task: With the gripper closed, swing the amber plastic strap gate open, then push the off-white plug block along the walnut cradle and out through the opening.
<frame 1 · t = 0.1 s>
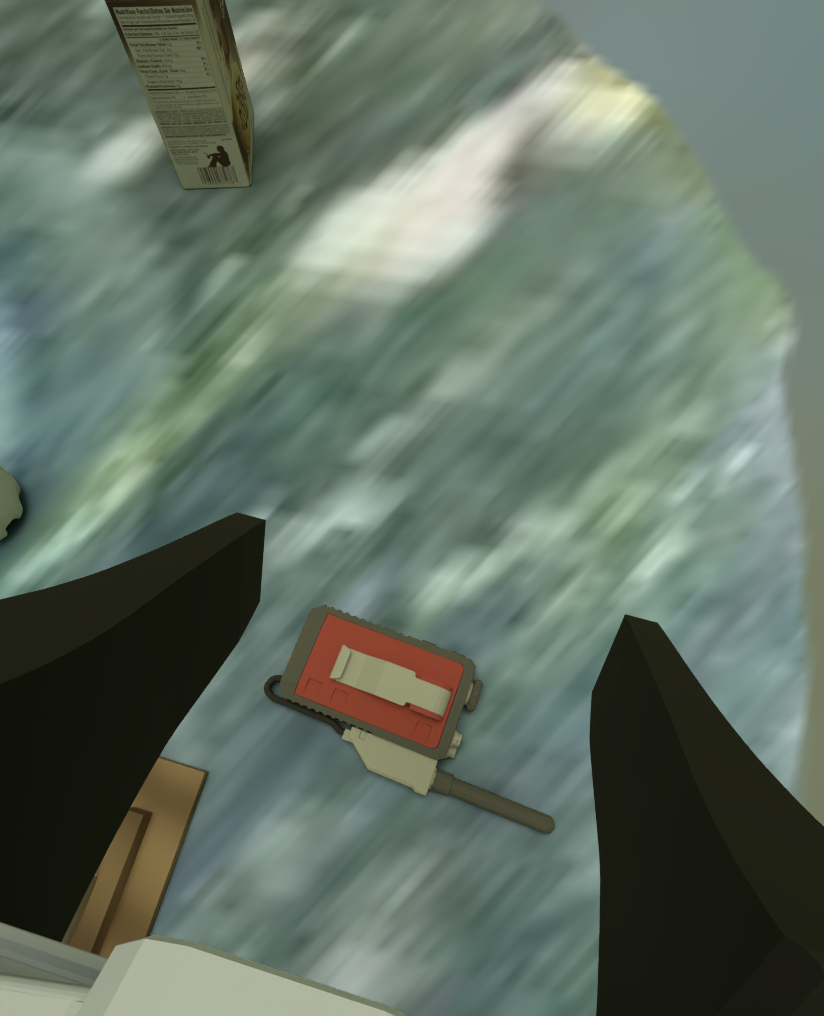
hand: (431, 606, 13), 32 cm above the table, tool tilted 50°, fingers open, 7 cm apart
cradle: (12, 1013, 37), on the table
coffee box: (219, 153, 60), on the table
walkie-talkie: (418, 714, 43), on the table
plug: (44, 919, 38), point 1 cm above the table, touching cradle
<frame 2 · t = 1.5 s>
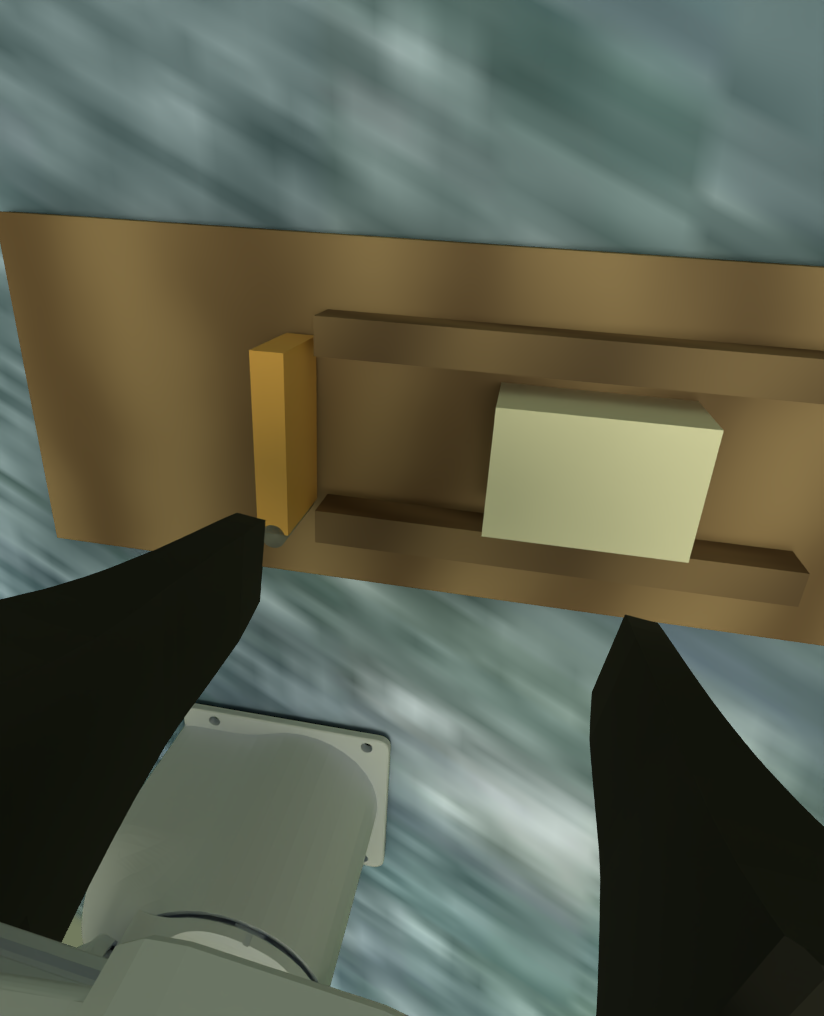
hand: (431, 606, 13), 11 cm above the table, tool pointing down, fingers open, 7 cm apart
cradle: (438, 428, 23), on the table
strap gate: (287, 440, 21), point 3 cm above the table, hinge at 0.0°
plug: (587, 452, 21), point 1 cm above the table, touching cradle
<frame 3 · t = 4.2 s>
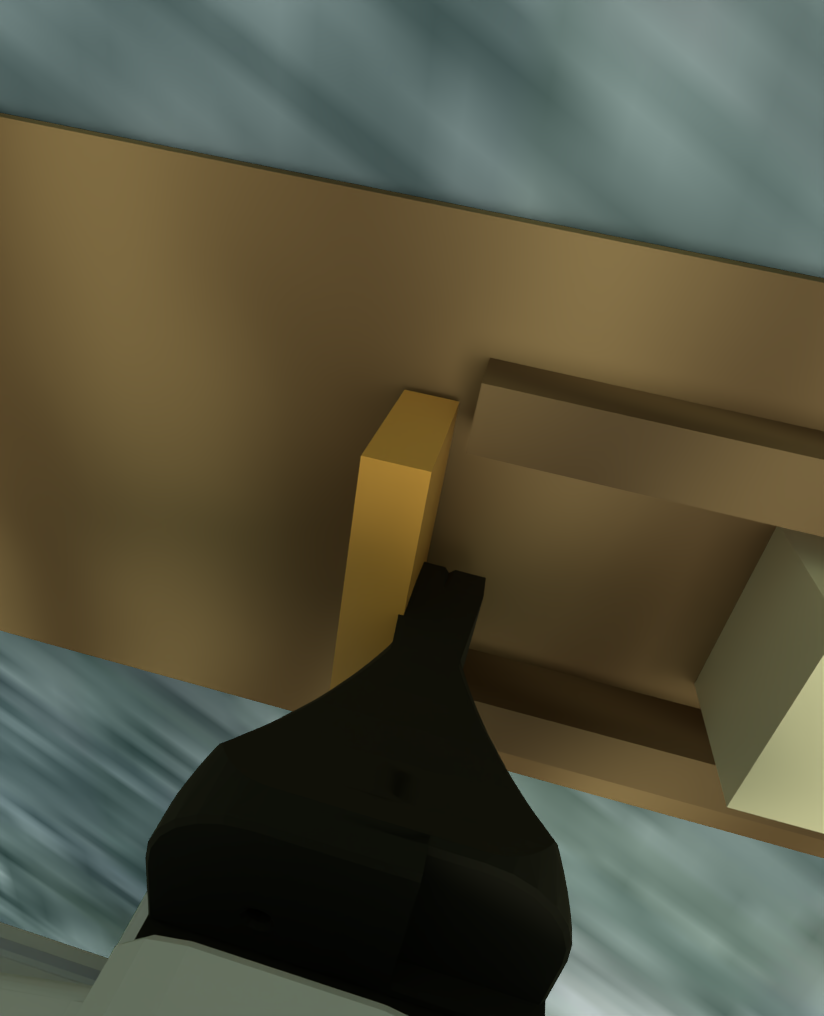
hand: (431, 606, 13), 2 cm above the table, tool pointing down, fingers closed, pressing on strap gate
cradle: (626, 563, 14), on the table
strap gate: (388, 583, 12), point 3 cm above the table, hinge at 0.4°, touching gripper
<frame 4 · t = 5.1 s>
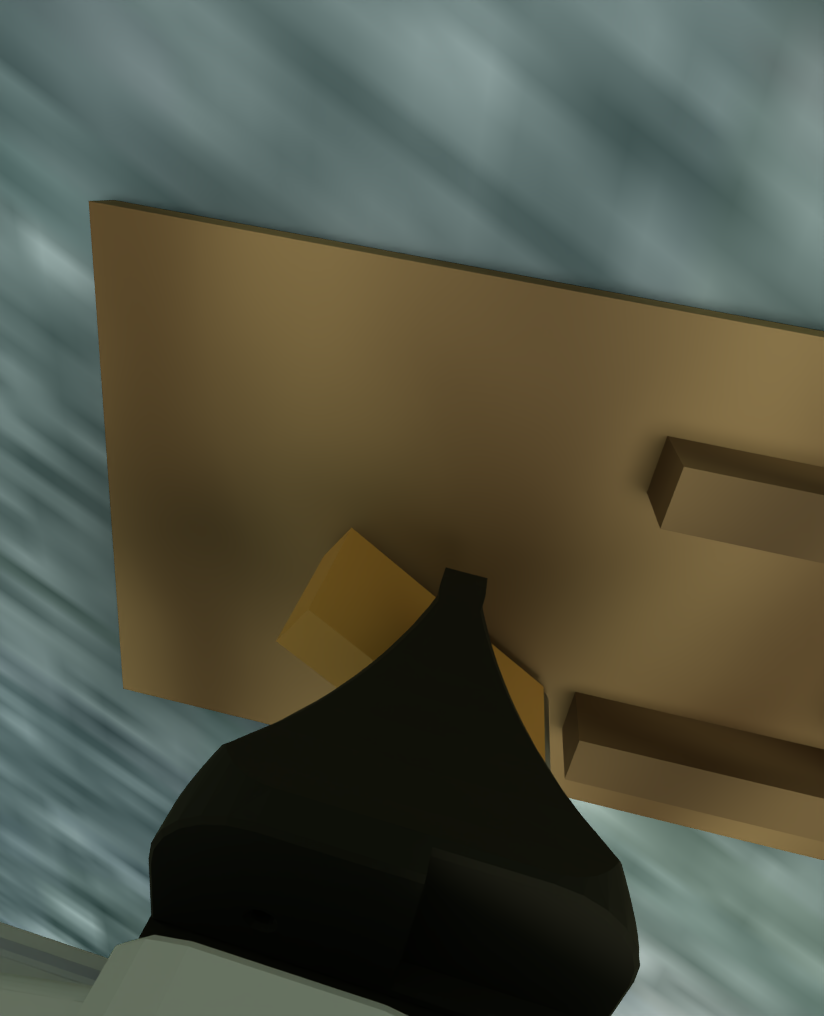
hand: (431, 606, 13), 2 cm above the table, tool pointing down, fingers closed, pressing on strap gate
cradle: (772, 617, 14), on the table
strap gate: (435, 674, 13), point 3 cm above the table, hinge at 58.7°, touching gripper
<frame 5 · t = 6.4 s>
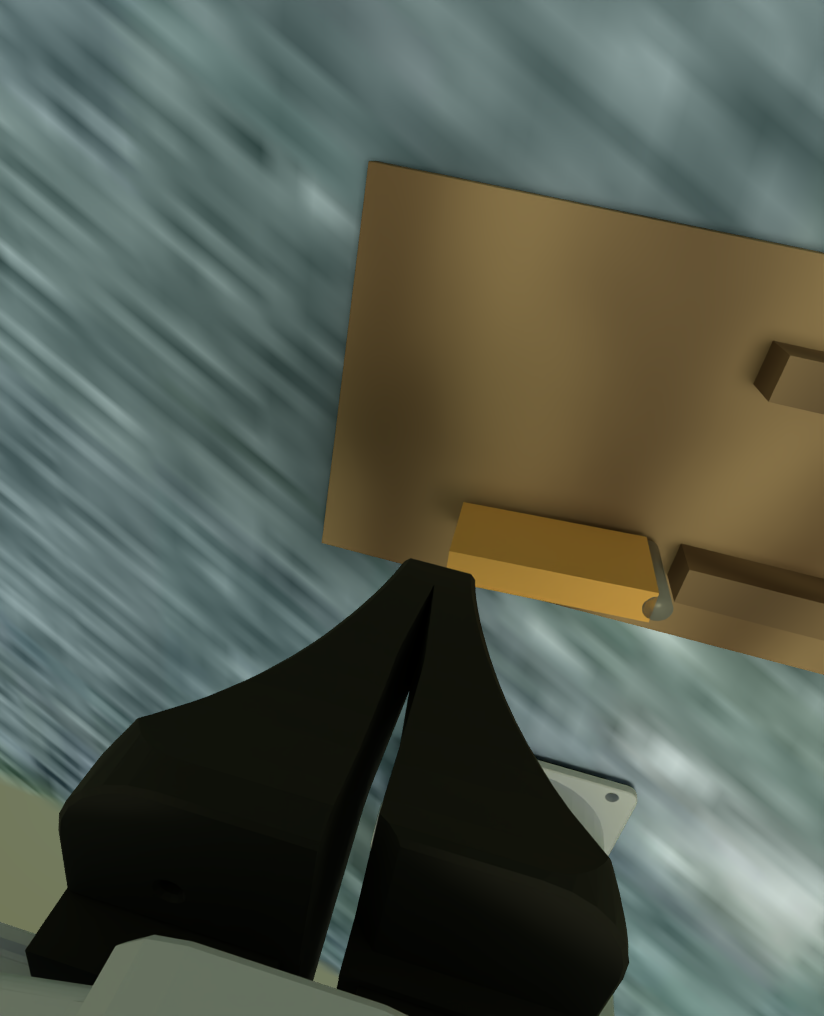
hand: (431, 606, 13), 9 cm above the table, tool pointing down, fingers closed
strap gate: (557, 559, 19), point 3 cm above the table, hinge at 93.8°
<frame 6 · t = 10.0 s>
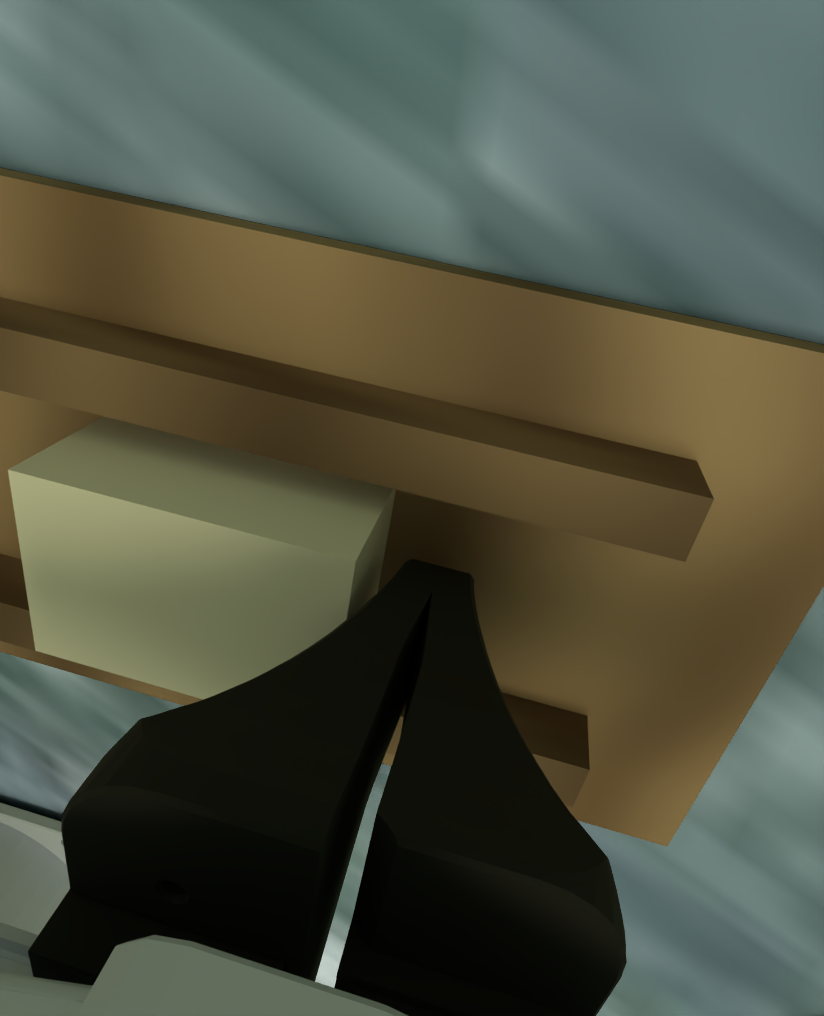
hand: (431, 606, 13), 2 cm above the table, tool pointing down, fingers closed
cradle: (107, 470, 15), on the table
plug: (249, 528, 14), point 1 cm above the table, touching cradle, gripper
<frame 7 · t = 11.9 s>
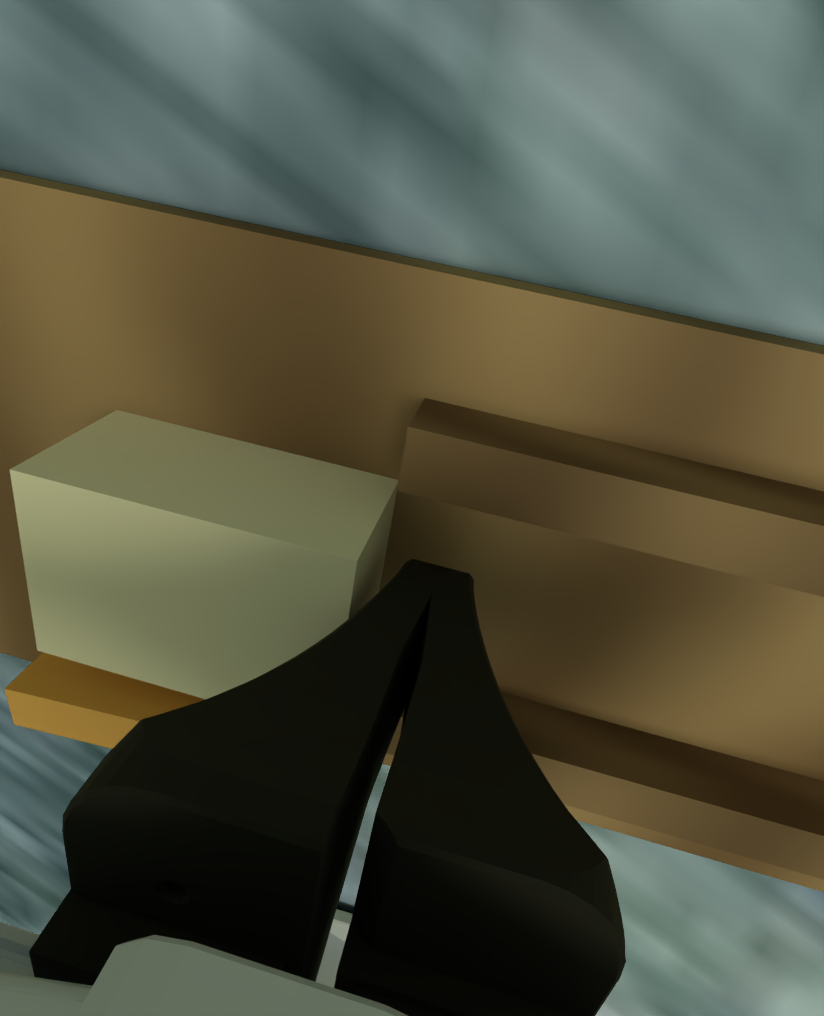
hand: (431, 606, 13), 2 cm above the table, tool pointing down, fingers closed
cradle: (565, 589, 14), on the table
strap gate: (188, 688, 14), point 3 cm above the table, hinge at 94.2°
plug: (250, 527, 14), point 1 cm above the table, touching cradle, gripper
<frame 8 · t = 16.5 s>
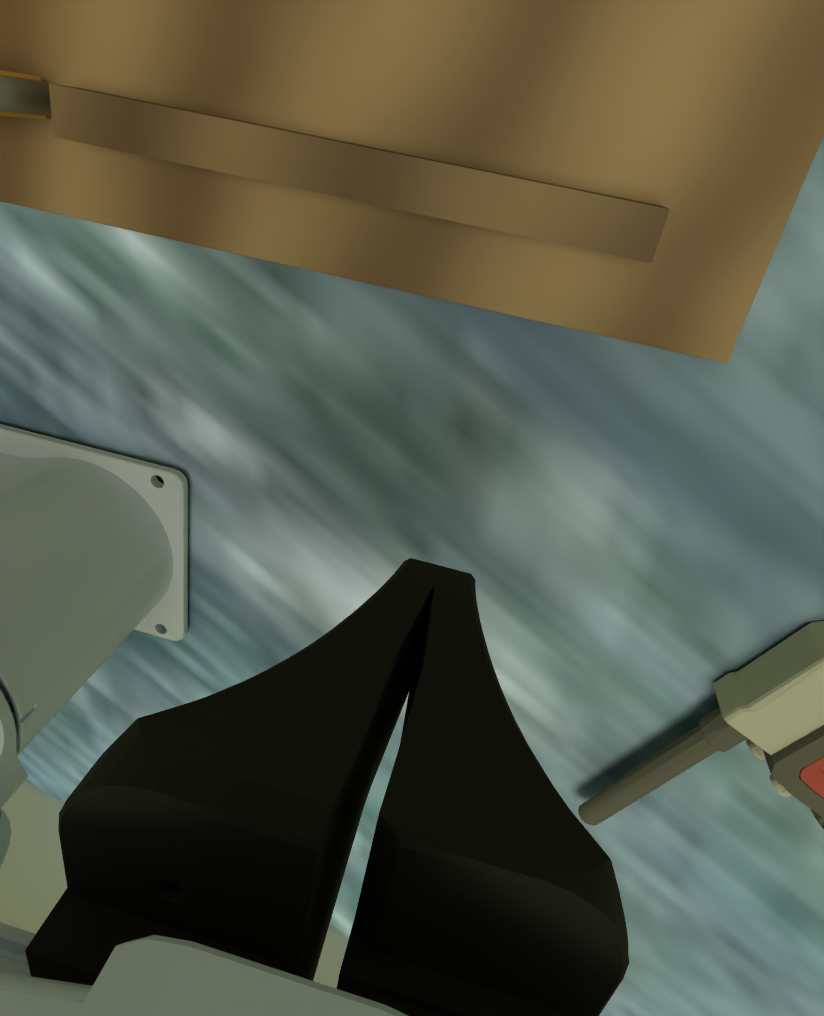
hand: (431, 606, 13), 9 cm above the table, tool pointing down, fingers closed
cradle: (229, 1, 17), on the table
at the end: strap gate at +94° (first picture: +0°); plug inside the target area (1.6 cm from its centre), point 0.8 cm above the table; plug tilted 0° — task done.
